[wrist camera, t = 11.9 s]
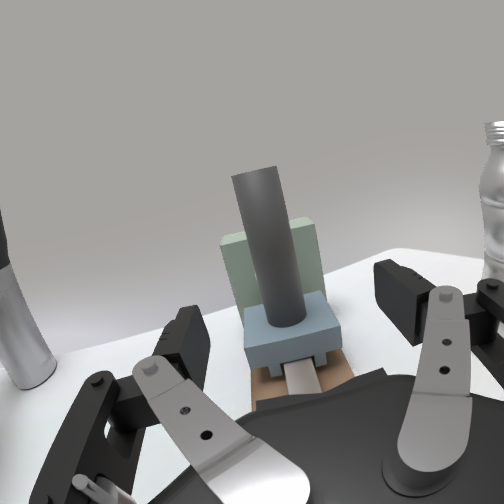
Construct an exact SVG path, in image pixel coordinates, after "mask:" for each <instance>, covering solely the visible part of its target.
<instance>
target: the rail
mask: <svg viewBox="0 0 504 504" xmlns="http://www.w3.org/2000/svg"><path fill="white" fill-rule="evenodd" d="M326 360H327V364H326V365H322V366H318V367H316V365H315V362H314V359H313V356H310V357H306V358H302V359H298V360H294V361H289V362H285V363H281V369H282V375H280V376H276V377H271V375H270V371H269V368H268V366H266V367H261V368H256V369H251V401H252V411H255V410H256V401H257V400H263V399H269V398H274V397H279V396H284V395H292V394H313V393H323V392H326V391H328V390H330V389H332V388H334V387H336V386H338V385H340V384H342V383H344V382H346V381H348V380H350V379H351V378H353V377H355V376H354V374H353V372H352V370H351V368H350V366H349V364H348V362H347V360H346V358H345V356H344V353H343V351H342V349H341V348H340V349H336V350H333V351H329V352H326Z"/></svg>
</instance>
